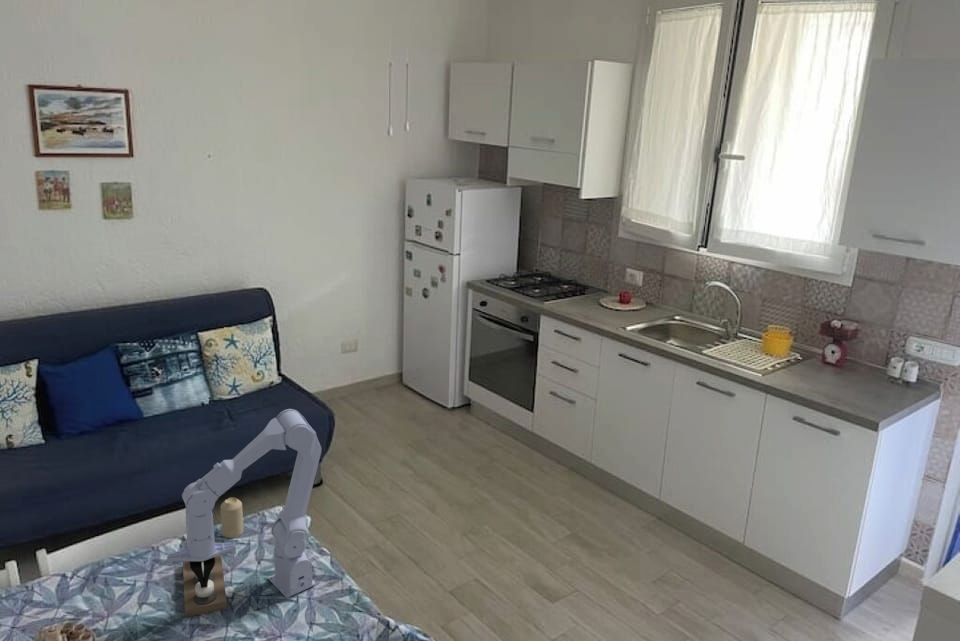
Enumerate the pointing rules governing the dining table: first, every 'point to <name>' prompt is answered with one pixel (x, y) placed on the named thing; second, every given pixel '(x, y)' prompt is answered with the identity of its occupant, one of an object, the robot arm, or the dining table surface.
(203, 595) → the button cream
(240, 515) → the candle
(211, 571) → the button sage
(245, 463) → the robot arm
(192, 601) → the button panel
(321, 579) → the dining table surface
